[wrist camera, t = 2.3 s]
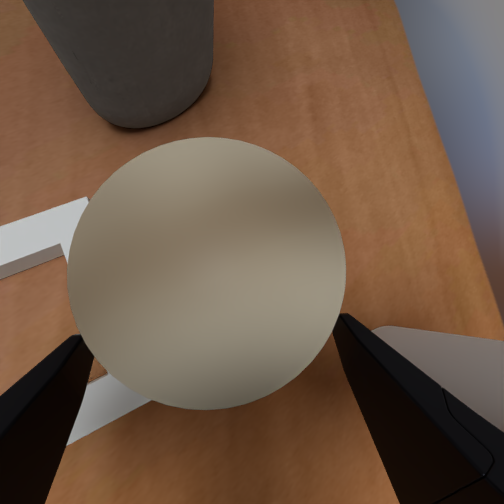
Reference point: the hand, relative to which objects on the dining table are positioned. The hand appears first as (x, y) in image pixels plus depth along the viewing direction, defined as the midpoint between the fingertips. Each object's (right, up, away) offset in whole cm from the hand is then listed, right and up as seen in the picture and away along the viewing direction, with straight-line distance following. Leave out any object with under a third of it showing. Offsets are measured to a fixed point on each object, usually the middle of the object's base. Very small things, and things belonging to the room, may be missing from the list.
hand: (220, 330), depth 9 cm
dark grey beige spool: (-1, 0, +10) cm, 10 cm away
